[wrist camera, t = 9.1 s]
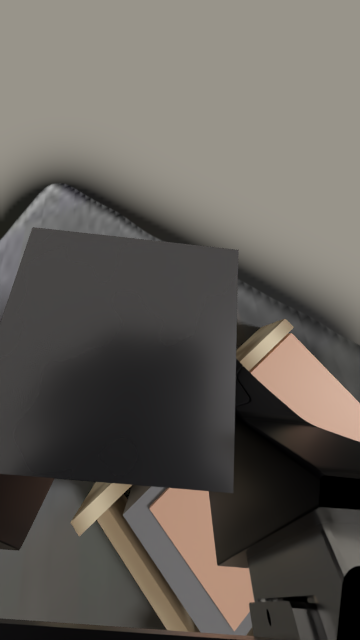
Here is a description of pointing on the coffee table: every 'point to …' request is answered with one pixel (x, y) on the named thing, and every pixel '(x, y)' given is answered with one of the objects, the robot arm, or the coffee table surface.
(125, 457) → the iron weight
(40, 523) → the coffee table surface
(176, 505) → the trapdoor
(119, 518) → the trapdoor frame
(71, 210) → the coffee table surface
